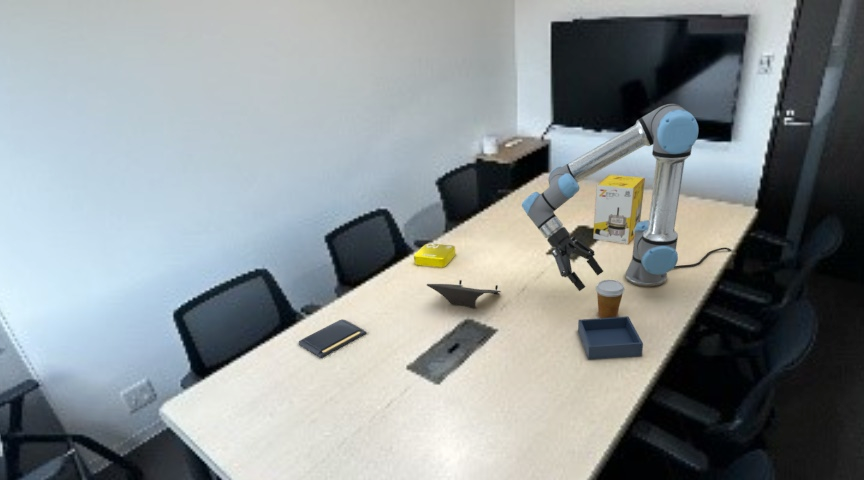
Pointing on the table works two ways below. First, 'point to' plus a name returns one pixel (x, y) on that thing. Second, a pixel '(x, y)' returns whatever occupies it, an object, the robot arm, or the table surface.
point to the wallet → (331, 338)
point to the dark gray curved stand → (461, 293)
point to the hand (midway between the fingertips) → (591, 281)
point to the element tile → (434, 255)
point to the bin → (609, 338)
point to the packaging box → (618, 208)
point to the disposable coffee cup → (609, 297)
